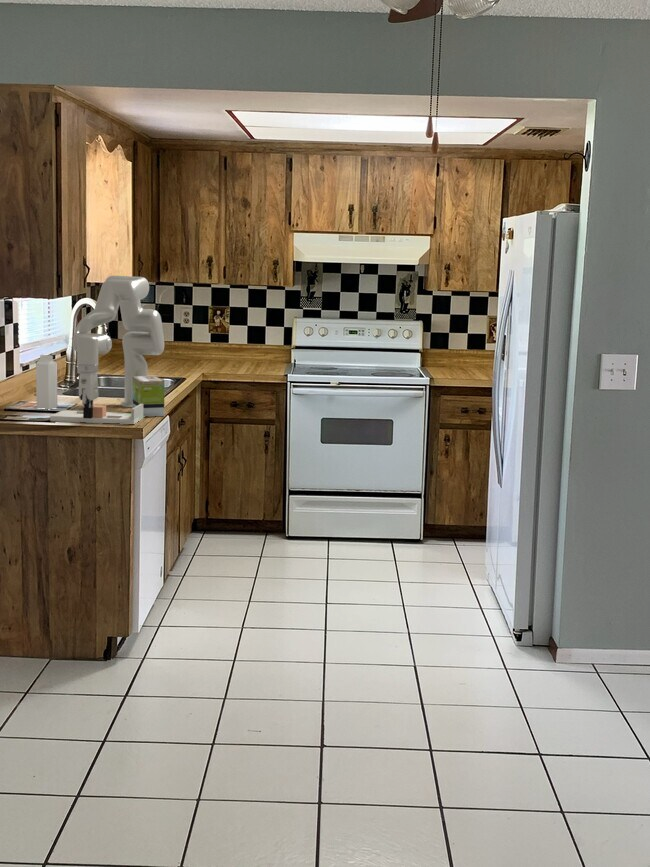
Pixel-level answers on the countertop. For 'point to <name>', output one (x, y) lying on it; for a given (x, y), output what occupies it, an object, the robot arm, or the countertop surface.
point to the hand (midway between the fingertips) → (88, 417)
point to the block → (99, 411)
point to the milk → (46, 382)
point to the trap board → (109, 418)
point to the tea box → (149, 395)
